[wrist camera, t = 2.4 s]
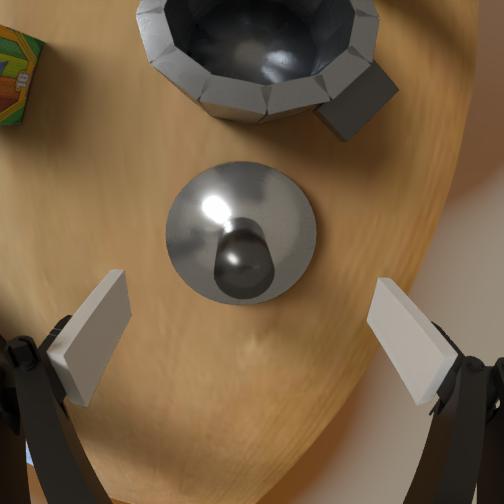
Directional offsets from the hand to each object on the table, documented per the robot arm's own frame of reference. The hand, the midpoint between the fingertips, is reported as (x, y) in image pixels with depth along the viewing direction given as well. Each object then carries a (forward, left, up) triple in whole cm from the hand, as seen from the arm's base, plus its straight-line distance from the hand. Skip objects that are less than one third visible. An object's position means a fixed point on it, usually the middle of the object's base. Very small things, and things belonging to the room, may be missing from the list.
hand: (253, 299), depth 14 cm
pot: (+12, +10, -11) cm, 19 cm away
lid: (0, 0, -11) cm, 11 cm away
